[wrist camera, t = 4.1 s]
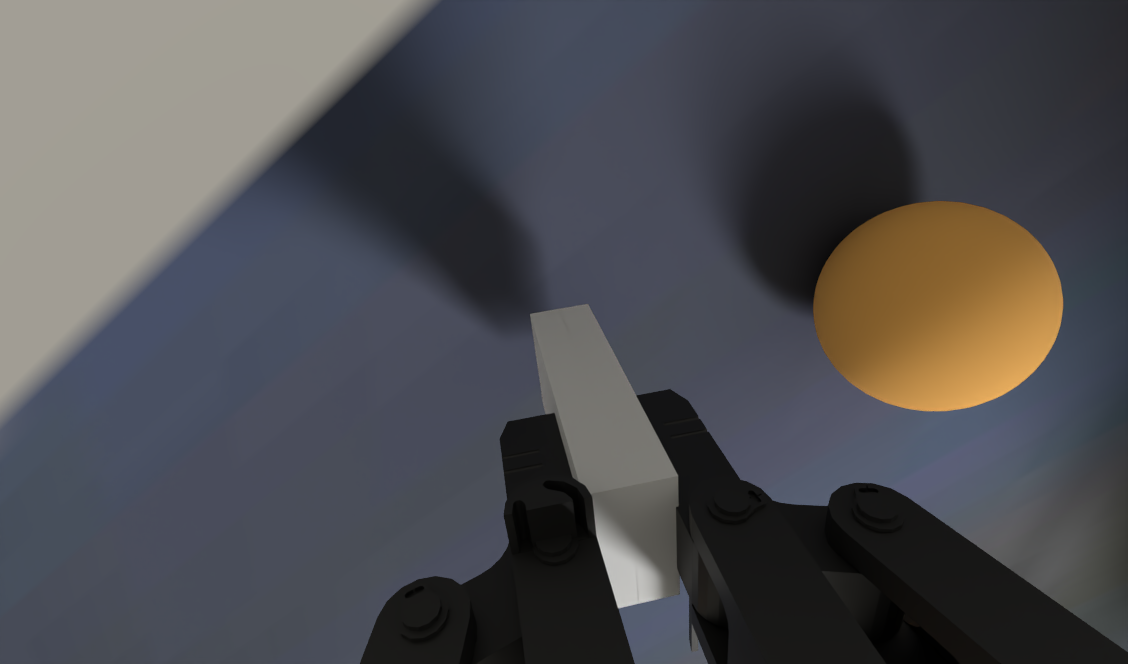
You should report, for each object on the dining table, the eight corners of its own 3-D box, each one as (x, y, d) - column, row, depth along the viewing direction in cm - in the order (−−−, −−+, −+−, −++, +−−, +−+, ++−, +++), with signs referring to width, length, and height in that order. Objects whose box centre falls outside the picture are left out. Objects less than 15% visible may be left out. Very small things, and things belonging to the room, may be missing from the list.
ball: (924, 334, 19) (1084, 431, 14) (770, 362, 19) (883, 474, 14) (961, 168, 17) (1169, 219, 12) (784, 195, 16) (927, 260, 11)
